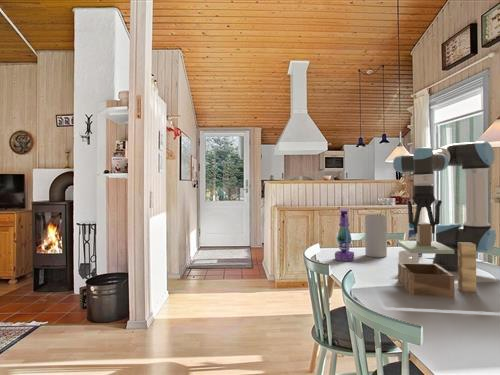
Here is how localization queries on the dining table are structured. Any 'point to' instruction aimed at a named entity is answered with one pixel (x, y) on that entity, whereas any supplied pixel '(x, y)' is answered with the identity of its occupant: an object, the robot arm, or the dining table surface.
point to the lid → (425, 243)
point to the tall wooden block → (466, 267)
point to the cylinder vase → (376, 235)
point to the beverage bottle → (412, 235)
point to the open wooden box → (426, 279)
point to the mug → (408, 257)
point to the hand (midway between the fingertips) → (424, 241)
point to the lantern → (344, 239)
